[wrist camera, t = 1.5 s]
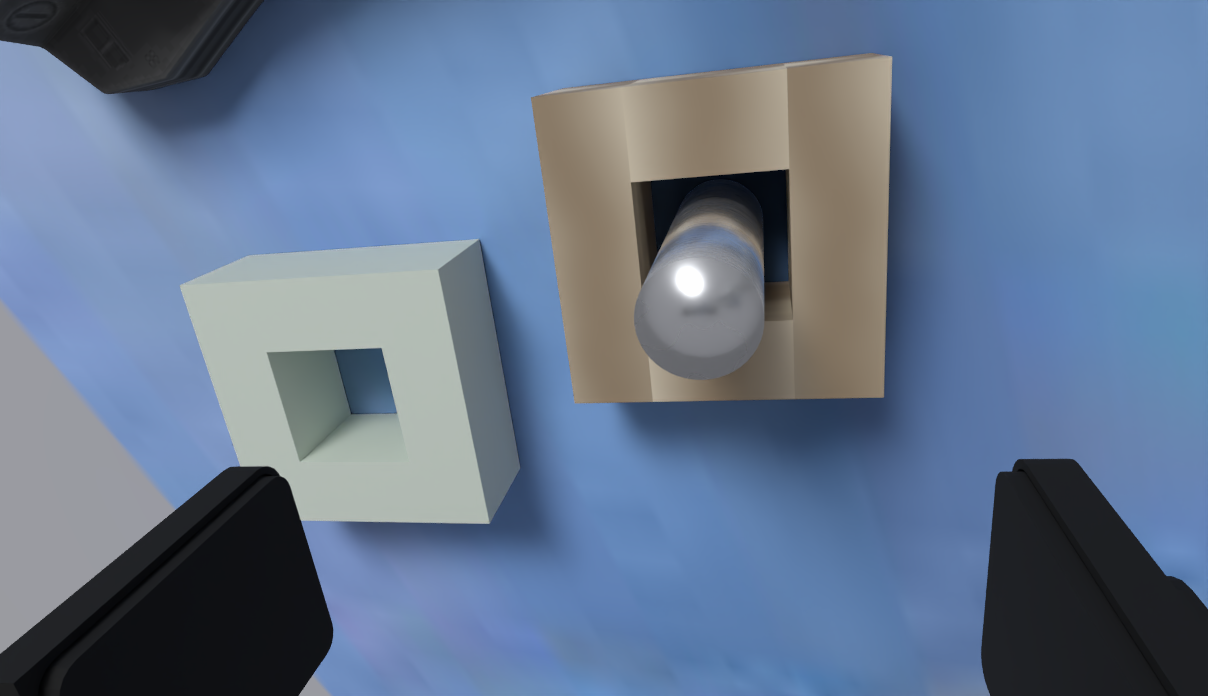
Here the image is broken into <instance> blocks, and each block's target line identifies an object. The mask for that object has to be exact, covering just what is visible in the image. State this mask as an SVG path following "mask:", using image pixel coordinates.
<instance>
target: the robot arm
mask: <svg viewBox="0 0 1208 696" xmlns="http://www.w3.org/2000/svg"><path fill="white" fill-rule="evenodd" d="M332 639H333V625H332V621H331V618H330V615H329V611H328V608H327V605H326V601H325V598H324V595H323V592H322V588H321V585H320V582H319V579H318V575H317V572H316V569H315V565H314V562H313V559H312V556H311V552H310V549H309V546H308V543H307V539H306V536H305V533H304V530H303V526H302V523H301V520H300V516H299V513H298V510H297V507H296V503H295V500H294V497H293V494H292V490H291V487H290V485H289V483H288V481H287V480H286V479H285V478H284V477H281V476H280V475H279V473H278V472H277V471H276V470H275V469H274V468H272V467H269V466H242V467H229V468H228V469H226V470H224V471H223V472H222V473H220V474H219V475H218V476H217V477H215V478H214V479H213V480H212V481H211V482H209V483H208V484H207V485H206V486H204V487H203V488H202V489H201V490H200V491H198V492H197V493H196V494H195V495H193V496H192V497H191V498H190V499H189V500H187V501H186V502H185V503H184V504H183V505H181V506H180V507H179V508H178V509H176V510H175V511H174V512H173V513H172V514H170V515H169V516H168V517H167V518H165V519H164V520H163V521H162V522H161V523H159V524H158V525H157V526H156V527H154V528H153V529H152V530H151V531H150V532H148V533H147V534H146V535H145V536H143V537H142V538H141V539H140V540H139V541H137V542H136V543H135V544H134V545H133V546H132V547H130V548H129V549H128V550H126V551H125V552H124V553H123V554H122V555H120V556H119V557H118V558H117V559H115V560H114V561H113V562H112V563H111V564H109V565H108V566H107V567H106V568H104V569H103V570H102V571H101V572H100V573H98V574H97V575H96V576H95V577H94V578H92V579H91V580H90V581H89V582H87V583H86V584H85V585H84V586H83V587H81V588H80V589H79V590H78V591H76V592H75V593H74V594H73V595H72V596H70V597H69V598H68V599H67V600H66V601H64V602H63V603H62V604H61V605H59V606H58V607H57V608H56V609H55V610H53V611H52V612H51V613H50V614H48V615H47V616H46V617H45V618H44V619H42V620H41V621H40V622H39V623H37V624H36V625H35V626H34V627H33V628H31V629H30V630H29V631H28V632H27V633H25V634H24V635H23V636H22V637H20V638H19V639H18V640H17V641H15V642H14V643H13V644H12V645H11V646H9V647H8V648H7V649H6V650H5V651H3V652H2V653H1V654H0V696H299V694H300V693H301V691H302V690H303V688H304V687H305V685H306V684H307V682H308V681H309V679H310V678H311V677H312V675H313V674H314V672H315V671H316V669H317V668H318V666H319V665H320V663H321V662H322V661H323V659H324V658H325V656H326V655H327V653H328V651H329V649H330V647H331V644H332ZM981 659H982V668H983V674H984V678H985V682H986V685H987V688H988V690H989V693H990V696H1208V609H1207V608H1206V606H1205V605H1204V604H1203V603H1202V601H1201V600H1200V599H1199V598H1198V596H1197V595H1196V594H1195V593H1194V592H1193V590H1192V589H1191V588H1190V587H1188V586H1187V585H1186V584H1185V583H1184V582H1183V581H1182V580H1180V579H1177V578H1175V577H1172V576H1166V575H1165V574H1164V573H1163V571H1162V570H1161V569H1160V567H1159V566H1158V565H1157V564H1156V562H1155V561H1154V560H1153V558H1152V557H1151V556H1150V555H1149V553H1148V552H1147V551H1146V550H1145V548H1144V547H1143V546H1142V544H1141V543H1140V542H1139V541H1138V539H1137V538H1136V537H1135V535H1134V534H1133V533H1132V532H1131V530H1130V529H1129V528H1128V527H1127V525H1126V524H1125V523H1124V521H1123V520H1122V519H1121V518H1120V516H1119V515H1118V514H1117V512H1116V511H1115V510H1114V509H1113V507H1112V506H1111V505H1110V504H1109V502H1108V501H1107V500H1106V498H1105V497H1104V496H1103V495H1102V493H1101V492H1100V491H1099V489H1098V488H1097V487H1096V486H1095V484H1094V483H1093V482H1092V480H1091V479H1090V478H1089V477H1088V475H1087V474H1086V473H1085V472H1084V470H1083V469H1082V468H1081V466H1080V465H1079V464H1078V463H1077V462H1076V461H1075V460H1074V459H1018V460H1017V461H1016V462H1015V464H1014V467H1013V471H1012V472H1000V473H999V474H998V476H997V478H996V485H995V496H994V508H993V519H992V531H991V543H990V554H989V566H988V577H987V589H986V601H985V612H984V624H983V636H982V647H981Z"/></svg>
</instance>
